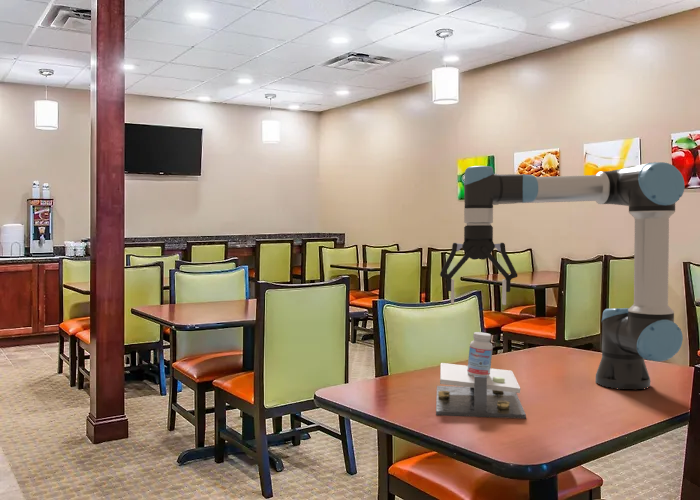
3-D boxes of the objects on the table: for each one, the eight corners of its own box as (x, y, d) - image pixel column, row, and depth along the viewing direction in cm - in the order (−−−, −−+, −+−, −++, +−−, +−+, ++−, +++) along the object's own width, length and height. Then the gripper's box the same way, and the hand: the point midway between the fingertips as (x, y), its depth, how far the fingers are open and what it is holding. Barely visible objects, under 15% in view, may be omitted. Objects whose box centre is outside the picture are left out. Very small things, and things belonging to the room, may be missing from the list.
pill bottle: (466, 376, 170) (470, 334, 169) (467, 371, 176) (471, 330, 175) (490, 379, 169) (494, 336, 168) (489, 373, 175) (493, 333, 174)
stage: (511, 374, 182) (511, 367, 182) (520, 394, 160) (521, 386, 160) (440, 366, 185) (441, 359, 185) (440, 384, 163) (440, 377, 163)
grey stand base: (514, 391, 184) (514, 357, 184) (525, 418, 158) (526, 378, 158) (437, 389, 187) (437, 355, 187) (436, 415, 162) (436, 375, 161)
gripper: (524, 224, 173) (524, 302, 174) (431, 224, 177) (431, 301, 177) (528, 224, 166) (527, 306, 166) (431, 224, 169) (431, 304, 170)
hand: (478, 304), depth 172 cm, fingers open, 13 cm apart
